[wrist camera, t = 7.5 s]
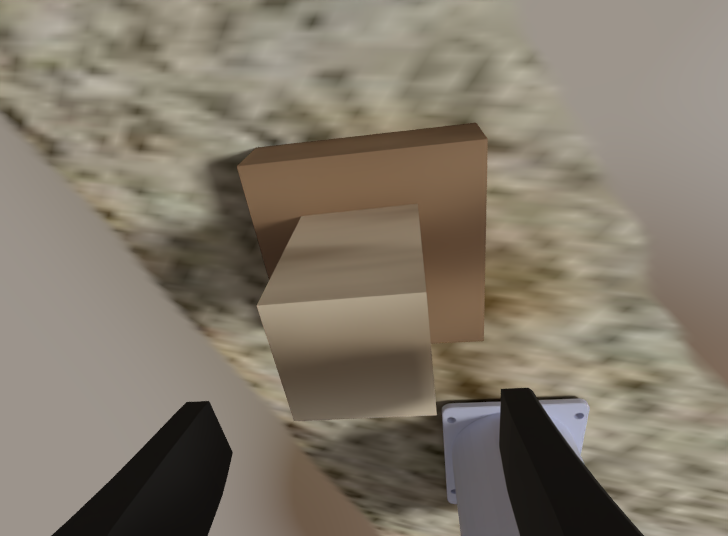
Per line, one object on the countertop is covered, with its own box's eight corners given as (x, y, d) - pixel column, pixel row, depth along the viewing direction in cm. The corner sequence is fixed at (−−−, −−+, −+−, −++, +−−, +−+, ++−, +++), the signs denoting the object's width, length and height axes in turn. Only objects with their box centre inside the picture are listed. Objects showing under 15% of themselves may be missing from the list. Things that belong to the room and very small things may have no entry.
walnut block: (473, 301, 22) (483, 340, 19) (301, 312, 23) (289, 350, 20) (473, 119, 17) (487, 138, 15) (259, 144, 18) (236, 166, 16)
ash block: (426, 302, 18) (436, 415, 13) (323, 310, 19) (293, 421, 14) (417, 203, 16) (426, 292, 11) (301, 216, 17) (256, 305, 11)
